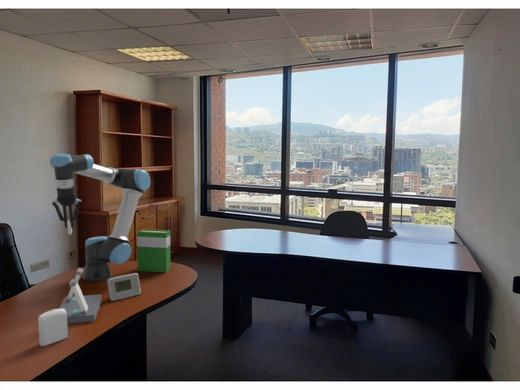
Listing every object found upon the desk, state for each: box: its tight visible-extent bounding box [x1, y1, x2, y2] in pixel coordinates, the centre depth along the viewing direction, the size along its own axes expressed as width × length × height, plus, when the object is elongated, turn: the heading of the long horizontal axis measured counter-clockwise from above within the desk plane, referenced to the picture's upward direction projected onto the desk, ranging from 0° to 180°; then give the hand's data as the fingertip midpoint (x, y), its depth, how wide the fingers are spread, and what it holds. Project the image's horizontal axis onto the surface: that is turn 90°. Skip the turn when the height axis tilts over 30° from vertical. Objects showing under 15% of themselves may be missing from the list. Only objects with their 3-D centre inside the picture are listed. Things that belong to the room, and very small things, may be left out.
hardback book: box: [136, 228, 171, 273], centre depth 249 cm, size 18×7×24 cm, turn 84°
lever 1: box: [66, 267, 85, 302], centre depth 193 cm, size 2×5×15 cm, turn 15°
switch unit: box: [58, 294, 103, 324], centre depth 187 cm, size 16×24×3 cm, turn 14°
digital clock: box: [106, 272, 142, 302], centre depth 206 cm, size 16×9×11 cm, turn 121°
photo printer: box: [37, 308, 69, 347], centre depth 159 cm, size 10×4×12 cm, turn 140°
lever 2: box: [68, 278, 88, 314], centre depth 178 cm, size 2×5×15 cm, turn 13°
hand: (70, 233), depth 202 cm, fingers closed
